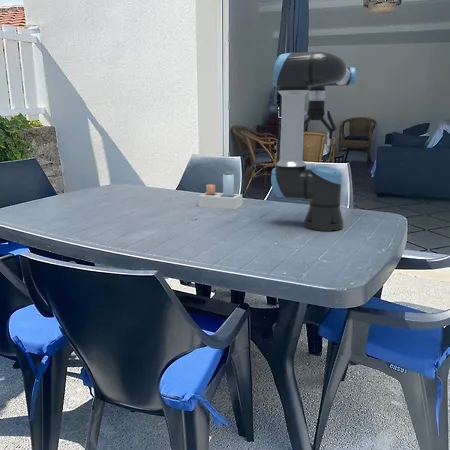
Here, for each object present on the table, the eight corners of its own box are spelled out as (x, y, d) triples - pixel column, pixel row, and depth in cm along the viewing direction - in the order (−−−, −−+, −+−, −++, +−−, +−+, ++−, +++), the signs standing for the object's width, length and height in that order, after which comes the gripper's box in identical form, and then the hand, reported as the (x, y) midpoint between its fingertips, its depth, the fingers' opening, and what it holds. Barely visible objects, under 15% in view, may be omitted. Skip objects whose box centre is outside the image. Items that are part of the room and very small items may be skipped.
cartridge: (231, 207, 197) (231, 173, 193) (221, 206, 199) (221, 172, 194) (235, 205, 201) (235, 171, 197) (225, 204, 203) (225, 171, 199)
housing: (234, 211, 194) (234, 198, 192) (198, 208, 201) (198, 195, 199) (242, 207, 203) (242, 194, 201) (207, 204, 209) (207, 191, 208)
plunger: (213, 197, 200) (212, 185, 198) (205, 196, 201) (204, 185, 200) (216, 195, 203) (216, 184, 202) (208, 195, 205) (208, 183, 203)
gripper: (344, 100, 202) (341, 145, 208) (294, 100, 213) (292, 144, 219) (341, 99, 196) (338, 146, 201) (289, 100, 207) (287, 145, 212)
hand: (314, 145), depth 210 cm, fingers open, 13 cm apart
